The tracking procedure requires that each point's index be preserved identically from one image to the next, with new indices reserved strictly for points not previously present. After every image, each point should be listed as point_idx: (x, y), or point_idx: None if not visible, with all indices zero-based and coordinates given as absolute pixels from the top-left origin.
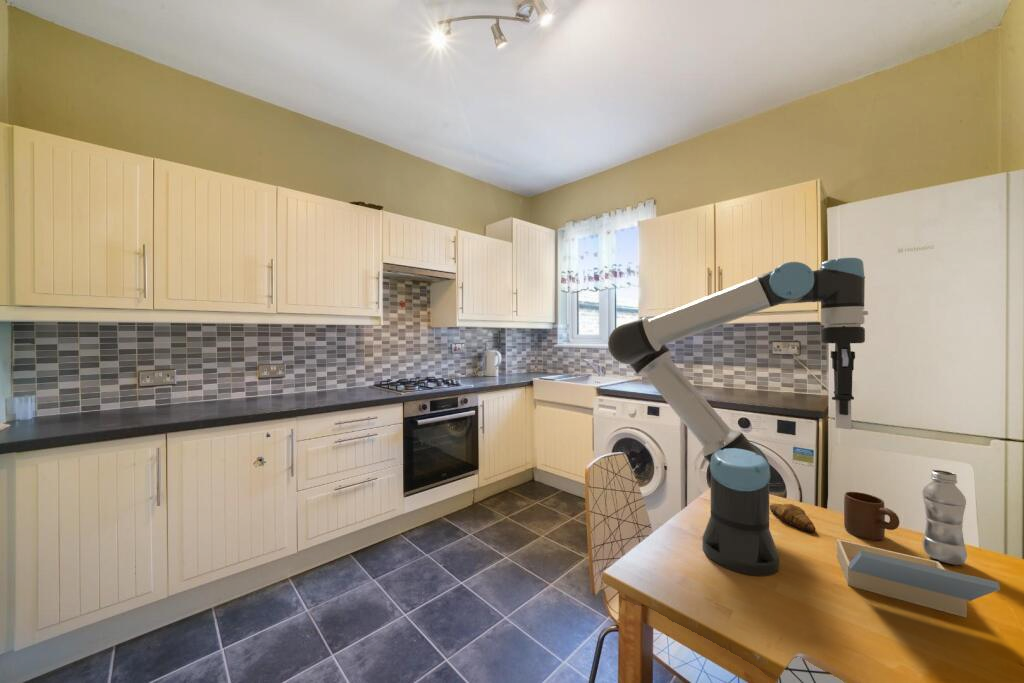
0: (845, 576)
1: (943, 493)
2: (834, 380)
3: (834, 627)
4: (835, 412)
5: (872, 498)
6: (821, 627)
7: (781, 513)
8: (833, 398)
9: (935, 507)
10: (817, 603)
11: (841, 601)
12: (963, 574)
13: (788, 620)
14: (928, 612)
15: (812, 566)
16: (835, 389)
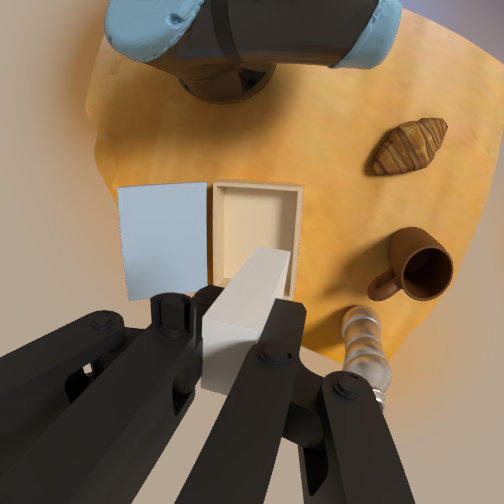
0: (237, 180)
1: None
2: (373, 502)
3: (135, 152)
4: (236, 275)
5: (439, 289)
6: (130, 142)
7: (400, 126)
8: (155, 301)
9: (351, 354)
10: (165, 141)
11: (182, 165)
12: (125, 277)
13: (125, 116)
14: (211, 247)
15: (251, 145)
16: (247, 399)
